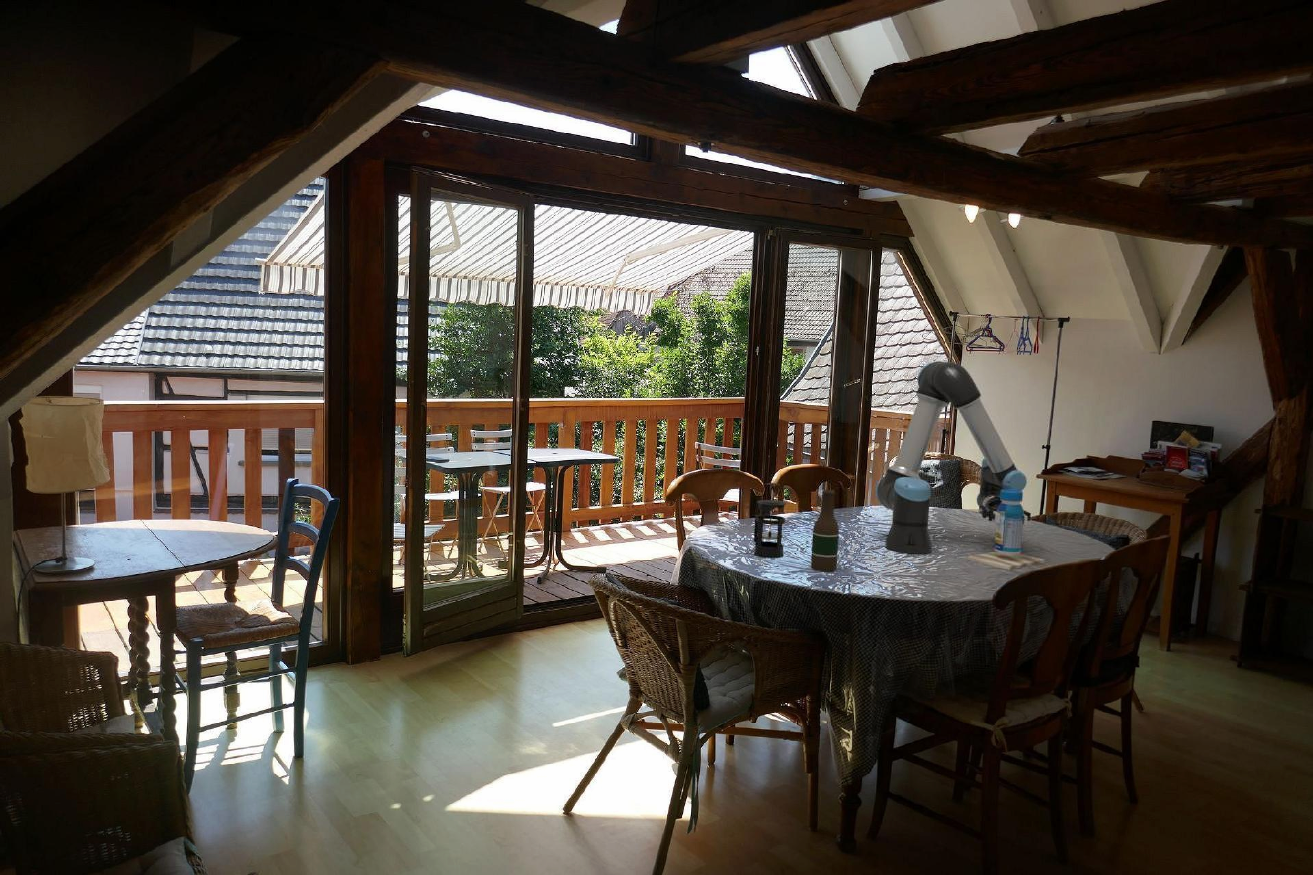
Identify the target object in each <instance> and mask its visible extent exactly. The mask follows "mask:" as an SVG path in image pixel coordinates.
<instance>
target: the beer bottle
mask: <svg viewBox="0 0 1313 875" xmlns="http://www.w3.org/2000/svg"><path fill="white" fill-rule="evenodd" d="M821 494H822V497H821V498H822V499H821V508H820V514H819V517H818V518H817V519H816V520H815V523H814V525H813V530H812V539H811V540H812V543H811V557H810V558H811V560H810V566H811V569H813V570H815V571H817V572H818V571H819V572H826V573H827V572H834V571H836V569H837V566H838V565H837V564H838V553H839V552H838V550H839V537H840V536H839V535H840V532H839V531H840V530H839V528H840V527H839V524H838V523H839V522H837V520H836V518H835V514H834V513H835V511H834V504H835V502H834V500H835V499H834V497H835V496H834V495H835V490H832V489H823V490H822V492H821Z"/></svg>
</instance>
